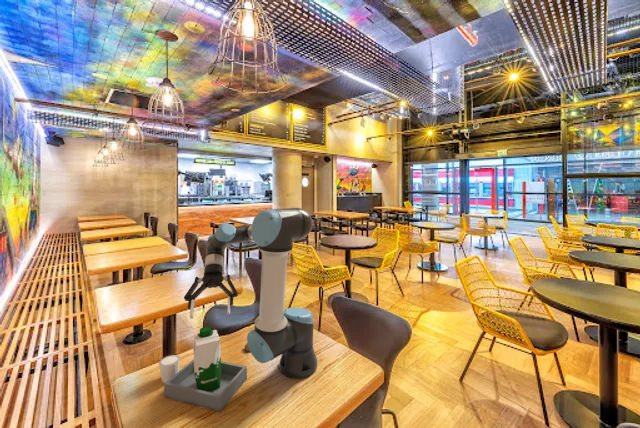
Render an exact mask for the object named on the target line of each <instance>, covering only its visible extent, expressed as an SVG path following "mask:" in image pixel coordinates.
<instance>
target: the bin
mask: <svg viewBox="0 0 640 428" xmlns="http://www.w3.org/2000/svg"><path fill="white" fill-rule="evenodd" d="M247 379H248V367H247V365H243V364H237V363H232V362H227V361H222V360H221V380H220V388H217V389H214V390H211V391H208V392H206V391H202V390H198V389H197V384H196V380H195V374H194V358H193V359H192V360H191V361H189V362H188V363H187V364H186V365H184V367H182V368H181V369H179V372H178V373H176V374H175V375H174V376H173V377H172V378H170V379H169V380H168V381H167V382H166V383H164V382H163V386H164V398H166V399H169V400H172V401H177V402H181V403H185V404H187V405H193V406H196V407H200V408H203V409H207V410H211V411H215V412H219V413H221V412H222V411H223V410H224V408H225V407H226V406H227V405H228V403H229V402H230V401H231V399H232V398H234V396H235V395H236V393H237V392H238V391H239V390H240V389H241V387H242V386H243V384H244V383H245V382H246V381H247Z"/></svg>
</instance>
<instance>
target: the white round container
mask: <svg viewBox="0 0 640 428" xmlns="http://www.w3.org/2000/svg"><path fill="white" fill-rule="evenodd" d="M180 361H181V357H180V356H179V355H177V354H172V355H167V356H165V357H163V358H161V360H160V361H159V362H158V365H159V372H160V378H161V382H163V384H164V383H166V382H167V381H168V380H169V379H170V378H172V377H173V376H174V375H175V374H176V373H178V372H179V371H180Z"/></svg>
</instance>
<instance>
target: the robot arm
mask: <svg viewBox="0 0 640 428" xmlns="http://www.w3.org/2000/svg"><path fill="white" fill-rule="evenodd" d="M313 224H314V223H313V219H312V216H311V214H310V213H309V212H308V211H307V210H305V209H303V208H300V207H290V208H289V207H288V208H284V207H283V208H269V209H264V210H261V211H260V212H258V213H257V214H256V215H255V216H254V218H253V220H252V223H251V224H247V225H237V226H234V225H233V224H231V223H227V222H224V223H221V224H220V225H219V227H218V228H217V229H216V230H215V231H214V234H211V235H209V236H208V238H207V242H206V251H205V258H204V259H205V261H204V269H203V271H204V272H203V277H198V276H196V277H195V278H194V282H193V283H192V285H190V287H189V289H188V290H187V292H186V293H185V295H184V296H183V298H184V300H185V301H186V302H187V308H188V311H189V318H190V319H191V320H192V319H193V318H194V311H195V304H196V302H195V300H196V299H197V298H198V297H199V296H200V294H202V293H203V292H204V291H205V290H206V289H212V288H214V289H215V288H219V289H221V290H222V291H223V292H224V293H225V294H226V295H227V309H226V310H227V315H228V316H230V314H231V307H232V306H233V305H234V298H237V297H239V293H238V291H237V289H236V287H235V285H234V284H233V282H232V280H231V275H230V274H227V275H224V257H225V256H224V255H225V254H224V253H225V250H226V248H228V246H229V245H234V244H240V243H245V242H254V243H255V244H256V246H257V248H258V250H259V251H260V252H261V253H262V254H261V255H262V256H261V272H260V273H261V274H260V275H261V277H260V295H259V296H260V298H259V314H258V316H257V317H256V318H255V320H254V328H253V329H252V330H251V329H250V331H249V332H247V336H246V341H247V343H248V347H249V349H250V351H249V352H250V353H251V355H252V357H253V358H254V359H255V361H257V362H259V363H260V364H266V363H268V362H270V361H273V360H275V359H276V358H278V357H280V358H279V371H280V372H281V374H282V375H284V376H285V377H287V378H290V379H305V378H308V377H309V376H311V375H312V374H314V373H315V372H316V371H317V369H318V368H317V367H318V357H317V355H316V352H315V349H314V322H315V321H314V316H313V313H312V312H311V311H310V310H309V309H308V308H303V307H296V306H295V307H289V308H286V309H285V302H286V301H285V299H286V288H287V287H286V286H287V271H288V269H287V267H288V257H289V256H288V254H289V253H290V252H292V251H293V245H294V241H295V242H296V241H300V240H302V239H304V238H306V237H307V236H308V235H310V233H311V232H312V229H313ZM224 281H225V282H227V285H228V286H229V288H230V289H231V290H230V289H229V288H228V287H226V285H224V283H223V282H224ZM201 282H202V284H201ZM199 284H201V285H200V287H198V286H199ZM247 343H246V344H247Z"/></svg>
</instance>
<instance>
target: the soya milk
mask: <svg viewBox="0 0 640 428" xmlns="http://www.w3.org/2000/svg"><path fill="white" fill-rule="evenodd" d="M212 328H213V327H212V326H210V325H209V326H208V325H207V326H202V327H201V328H200V329H199V333H197V334H193V341H192V342H193V344H192V345H193V349H192V350H193V351H192V352H193V359H194V374H195V380H196V384H197V389H198V390H202V391H206V392H208V391H211V390H214V389H217V388H220V380H221V361H222V356H221V355H222V353H221V351H222V350H221V339H220V336H219V334H218V330H217V329H213V330H212Z"/></svg>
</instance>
